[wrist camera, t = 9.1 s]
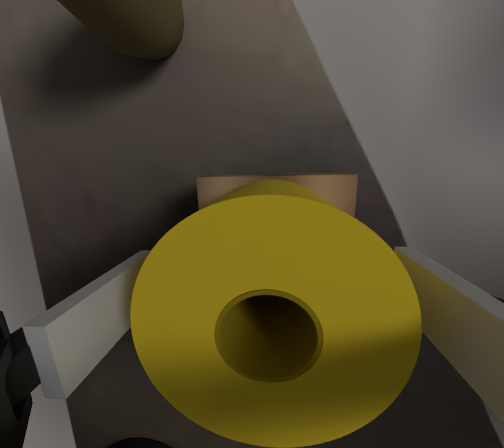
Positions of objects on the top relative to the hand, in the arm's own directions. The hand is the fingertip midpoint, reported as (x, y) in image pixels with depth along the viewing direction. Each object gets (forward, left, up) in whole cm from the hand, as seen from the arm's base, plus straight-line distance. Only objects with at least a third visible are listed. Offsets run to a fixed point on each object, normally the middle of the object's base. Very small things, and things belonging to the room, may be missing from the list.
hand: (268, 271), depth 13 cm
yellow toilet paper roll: (0, 0, -5) cm, 5 cm away
